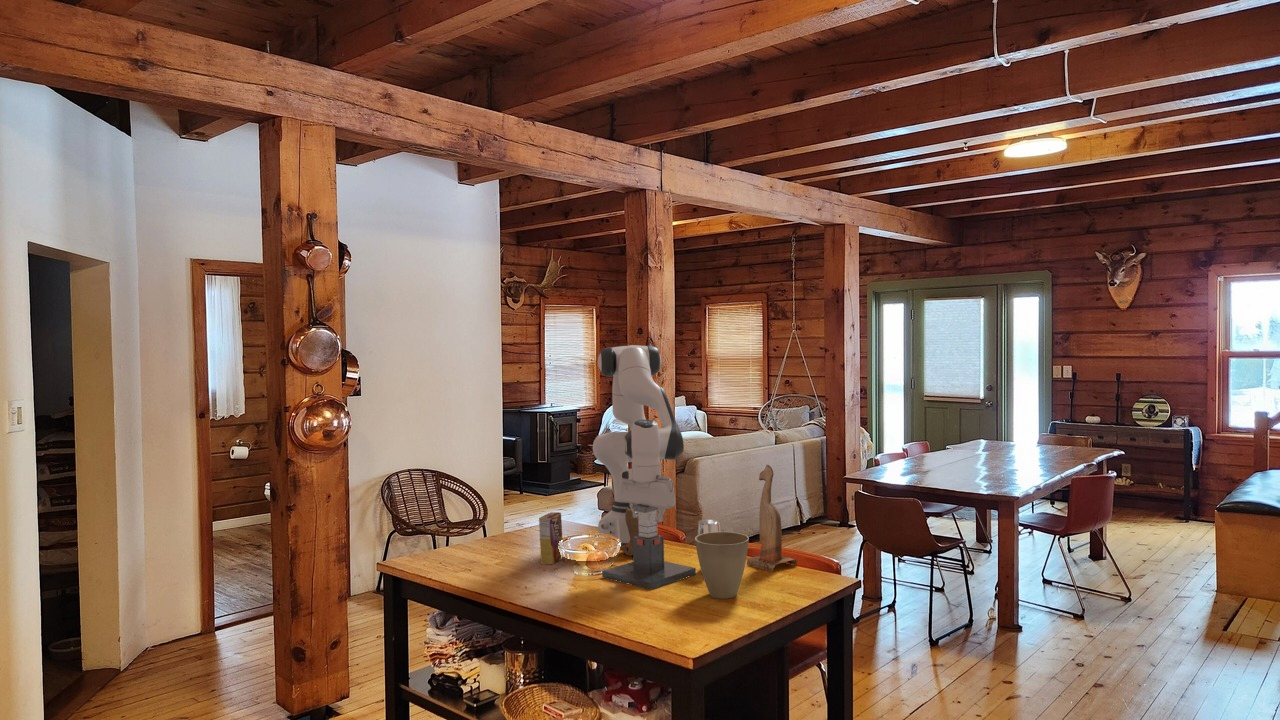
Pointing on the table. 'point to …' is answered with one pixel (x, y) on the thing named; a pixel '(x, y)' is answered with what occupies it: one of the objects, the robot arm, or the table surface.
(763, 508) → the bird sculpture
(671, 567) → the stand
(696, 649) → the table surface
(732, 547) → the plant pot
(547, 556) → the candy box
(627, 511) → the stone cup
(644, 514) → the light grey tall block
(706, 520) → the beer glass
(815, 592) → the table surface
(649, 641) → the table surface
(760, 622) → the table surface
